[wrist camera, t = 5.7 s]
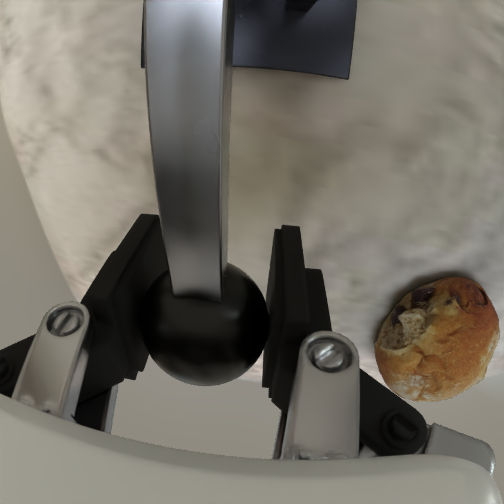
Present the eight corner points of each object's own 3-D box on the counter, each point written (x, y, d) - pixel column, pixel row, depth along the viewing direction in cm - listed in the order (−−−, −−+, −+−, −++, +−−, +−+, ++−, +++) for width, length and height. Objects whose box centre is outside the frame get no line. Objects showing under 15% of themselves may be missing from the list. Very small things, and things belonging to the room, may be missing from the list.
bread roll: (368, 332, 27) (386, 416, 23) (361, 294, 19) (390, 422, 14) (465, 299, 24) (488, 380, 20) (496, 247, 16) (537, 362, 12)
